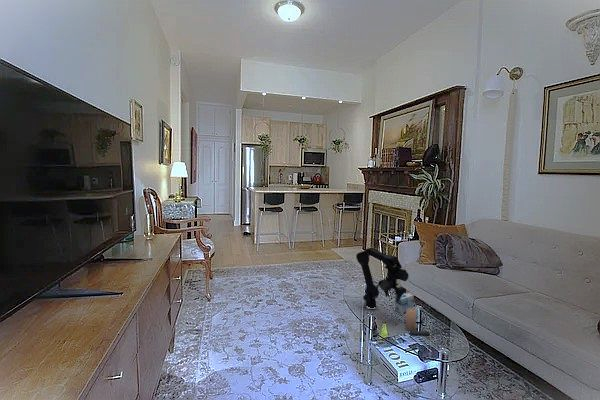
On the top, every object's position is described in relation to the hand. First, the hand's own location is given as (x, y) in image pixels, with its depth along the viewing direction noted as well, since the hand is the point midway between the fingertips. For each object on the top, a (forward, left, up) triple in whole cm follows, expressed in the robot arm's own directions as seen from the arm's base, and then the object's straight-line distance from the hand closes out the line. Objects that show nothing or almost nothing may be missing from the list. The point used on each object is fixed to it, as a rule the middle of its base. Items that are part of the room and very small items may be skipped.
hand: (392, 299), depth 209 cm
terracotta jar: (+9, -12, -13) cm, 20 cm away
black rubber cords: (+12, -12, -13) cm, 21 cm away
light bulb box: (+10, +10, -13) cm, 19 cm away
